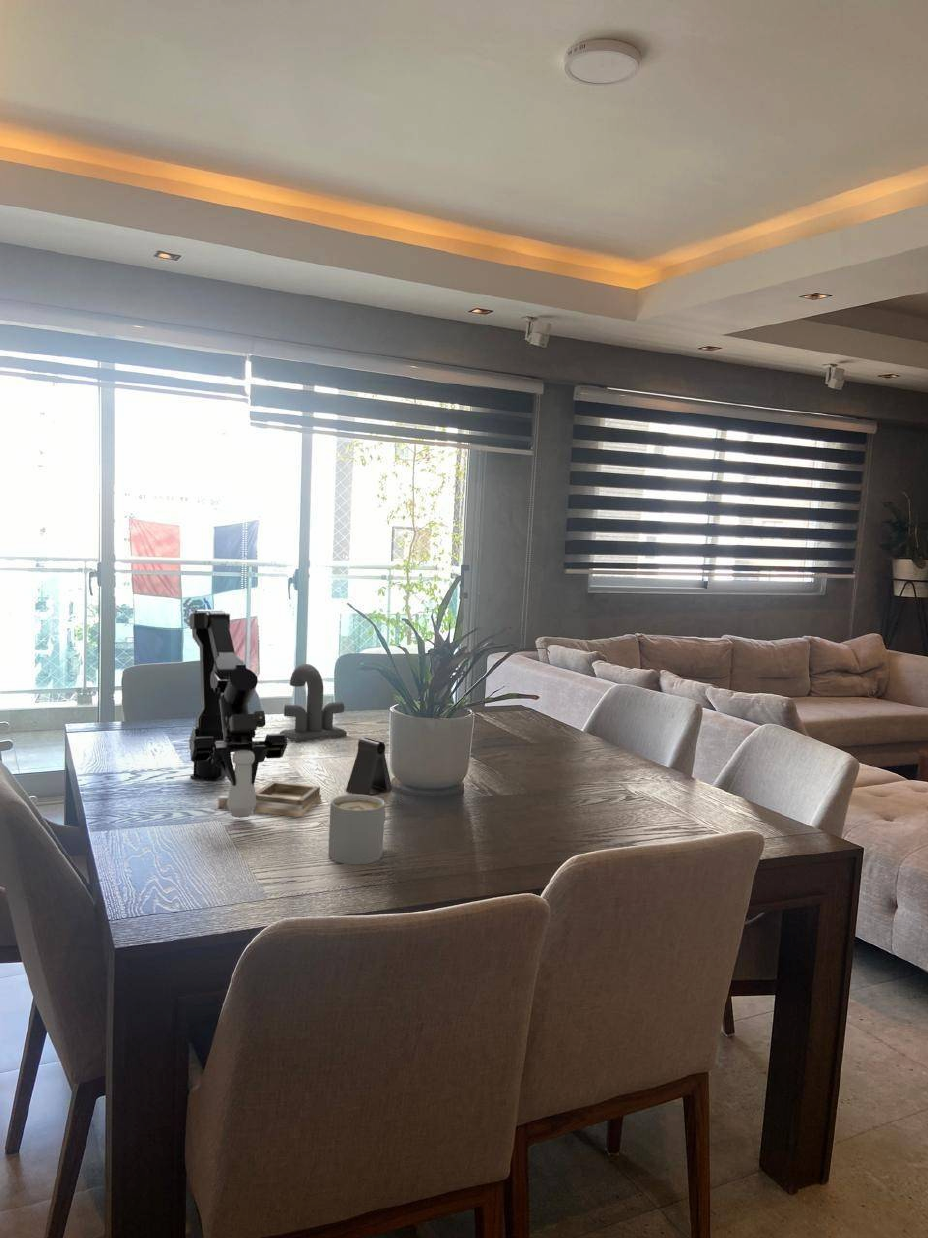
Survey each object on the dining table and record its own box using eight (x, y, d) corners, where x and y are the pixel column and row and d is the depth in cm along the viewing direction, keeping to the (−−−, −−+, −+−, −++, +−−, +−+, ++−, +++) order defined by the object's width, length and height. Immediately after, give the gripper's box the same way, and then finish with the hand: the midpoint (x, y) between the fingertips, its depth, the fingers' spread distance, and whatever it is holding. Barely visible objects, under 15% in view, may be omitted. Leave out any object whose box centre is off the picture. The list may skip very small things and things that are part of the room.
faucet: (317, 725, 280) (320, 659, 278) (348, 735, 269) (351, 667, 267) (264, 731, 268) (267, 662, 266) (294, 742, 256) (297, 670, 254)
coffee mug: (353, 868, 166) (356, 814, 165) (317, 853, 173) (319, 800, 172) (406, 851, 176) (409, 800, 175) (369, 838, 183) (372, 788, 182)
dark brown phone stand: (363, 798, 209) (366, 745, 208) (345, 791, 213) (348, 740, 212) (392, 791, 216) (395, 740, 215) (374, 785, 220) (377, 735, 219)
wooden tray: (218, 807, 196) (218, 792, 196) (243, 790, 209) (244, 776, 208) (299, 817, 193) (300, 802, 192) (320, 799, 206) (321, 785, 205)
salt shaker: (229, 809, 191) (231, 747, 189) (257, 810, 191) (260, 748, 190) (224, 818, 185) (226, 754, 184) (253, 819, 186) (256, 755, 184)
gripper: (194, 697, 185) (201, 766, 177) (287, 695, 193) (298, 762, 184) (187, 727, 193) (193, 794, 185) (276, 724, 201) (286, 789, 192)
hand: (243, 784), depth 186 cm, fingers closed on salt shaker, 3 cm apart
